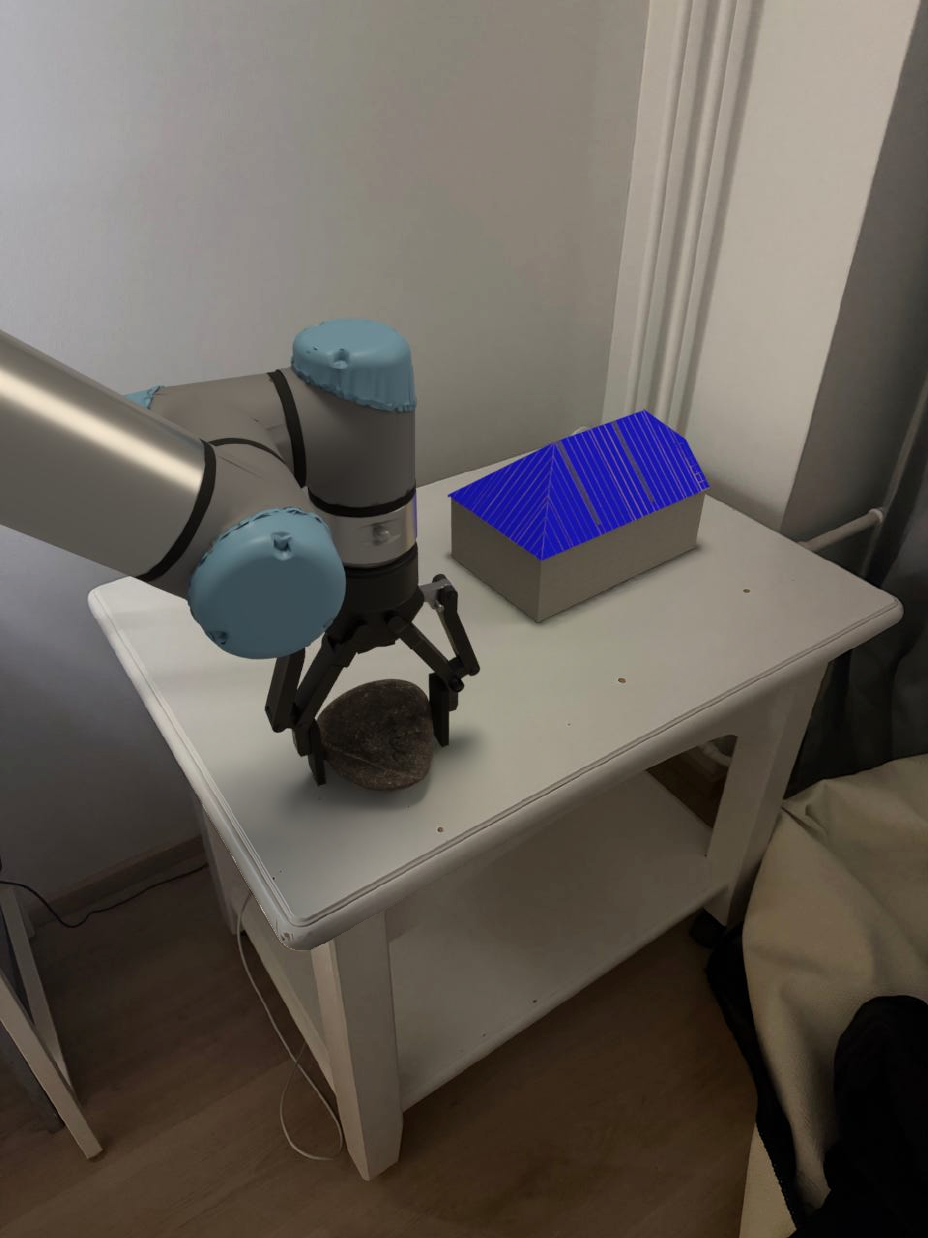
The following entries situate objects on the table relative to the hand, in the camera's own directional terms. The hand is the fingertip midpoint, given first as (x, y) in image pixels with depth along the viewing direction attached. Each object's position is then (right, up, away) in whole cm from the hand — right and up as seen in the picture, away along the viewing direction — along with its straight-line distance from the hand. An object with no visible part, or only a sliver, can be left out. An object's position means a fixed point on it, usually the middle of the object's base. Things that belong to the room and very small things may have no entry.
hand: (379, 755), depth 78 cm
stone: (0, 0, 0) cm, 1 cm away
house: (+20, +20, +27) cm, 39 cm away
